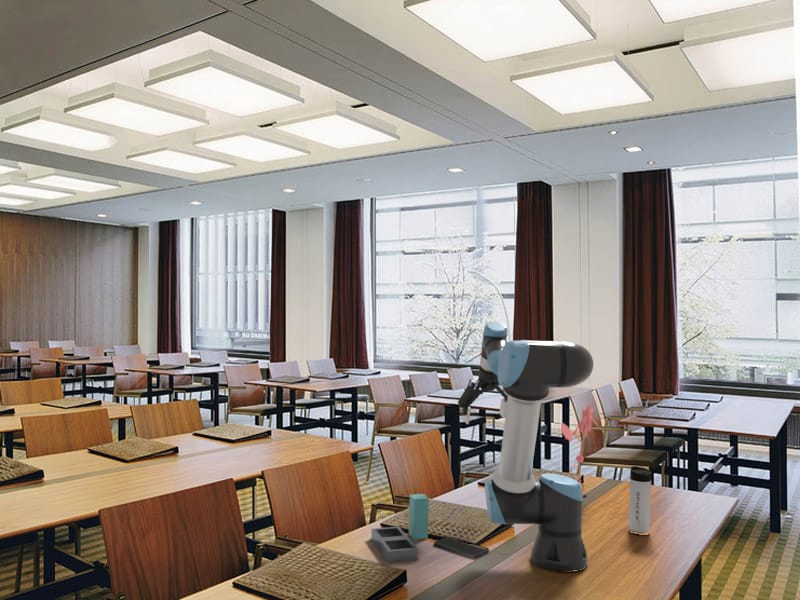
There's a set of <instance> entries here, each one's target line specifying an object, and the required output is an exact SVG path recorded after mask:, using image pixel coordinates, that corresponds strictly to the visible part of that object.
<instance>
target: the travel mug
mask: <svg viewBox="0 0 800 600" xmlns="http://www.w3.org/2000/svg"><path fill="white" fill-rule="evenodd" d="M629 471H630V475H629V477H630V478H629V497H628V498H629V501H628V503H629V504H628V532H629V531H632V532H637V533H645V532H649V531H651V528H650V527H651V506H652V505H651V504H652V503H651V502H652V501H651V500H652V499H651V498H652V496H651V495H652V471H651V470H649V469H647V468H644V467H640V466H639V467H638V465H637V466H636V465H633V466H631V467H630V470H629Z"/></svg>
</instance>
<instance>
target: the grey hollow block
mask: <svg viewBox="0 0 800 600" xmlns="http://www.w3.org/2000/svg"><path fill="white" fill-rule="evenodd" d="M371 540H372V542H373V543H374V544H375V545H374V546H376V548H377V549H378V551H379V552H380V553H381V555H382V556H383V557H384V559H385V560H386V562H387V563H399V562H409V561H418V560H419V548H418V547H417V545H415V543H414V542H413V541H412V539H410V538H409V535H407V534H406V533H405V531H404V530H402V528H401V527H400V526H389V527H379V528H371Z"/></svg>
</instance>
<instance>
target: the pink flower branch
mask: <svg viewBox="0 0 800 600" xmlns="http://www.w3.org/2000/svg"><path fill="white" fill-rule="evenodd" d="M581 412H582V413H581V415H582V417H581V421H579V423H578V425H577V427H576V428H575V430H574V431H573V432H572V430H571V428H570V427H568V425H567V424H565V423H564V422H562V423H561V425H560V430H561V433H562V435H563V437H564V438H565V441H567V440H568V442H570V443H572V441H573V435H574V436H575V437H576V438H577V440H578V441H579V442H580V454H577V455H576V458H575V460H576V462H575V463H574V464H572V465H571V466H570V468H569V469H570V470H569V471H570V478H572V477H573V475H572V474H573V473H572V471H573V470H572V468H573V467H574V466H576V464H578V475H579V478H577V481H578V482H579V483H580V484H581V486H582V490H583V492H584V493H585V494H586V495H588V493H587V491H586V489H585V488H584V486H583V484H582V479H581V467H580V466H581V465H580V463H582V462H583V461H584V459H585V458H584V456H583V441H582V440H581V438H580V437H579V436H578V435H577V434H579V433H582V436H583V438H584V439H585V438H587V437H588V433H589V432H592V421H593V422H594V424H595V425H596V426H597V427H598V428H599V427H600V426H599V424H597V422H596V421H595V420H594V418H593V416H594V409H593V408H592V409H591V403H587V405H586V408H585V407H584V408H582V411H581ZM572 479H573V478H572ZM608 504H609V503H608V502H606V505H608ZM602 506H603V504H601V505H600V507H602Z"/></svg>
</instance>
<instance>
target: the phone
mask: <svg viewBox="0 0 800 600" xmlns="http://www.w3.org/2000/svg"><path fill="white" fill-rule="evenodd" d="M450 537H451V538H450ZM456 539H457V538H456V537H453V536H445V537H442V538H440V539H438V540H436V541H434V542H433V547H435V548H438V549H441V550H444V551H448V552H451V553H454V554H458V555H460V556H463V557H466V558H470V559H472V560H477V559H479V558H482V557H483V556H485V555H487V554H489V553H490V549H489V548H488V547H484V546H482V545H479V544H475V543H472V544H467V543H464V542H460V541H458V540H456Z"/></svg>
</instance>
